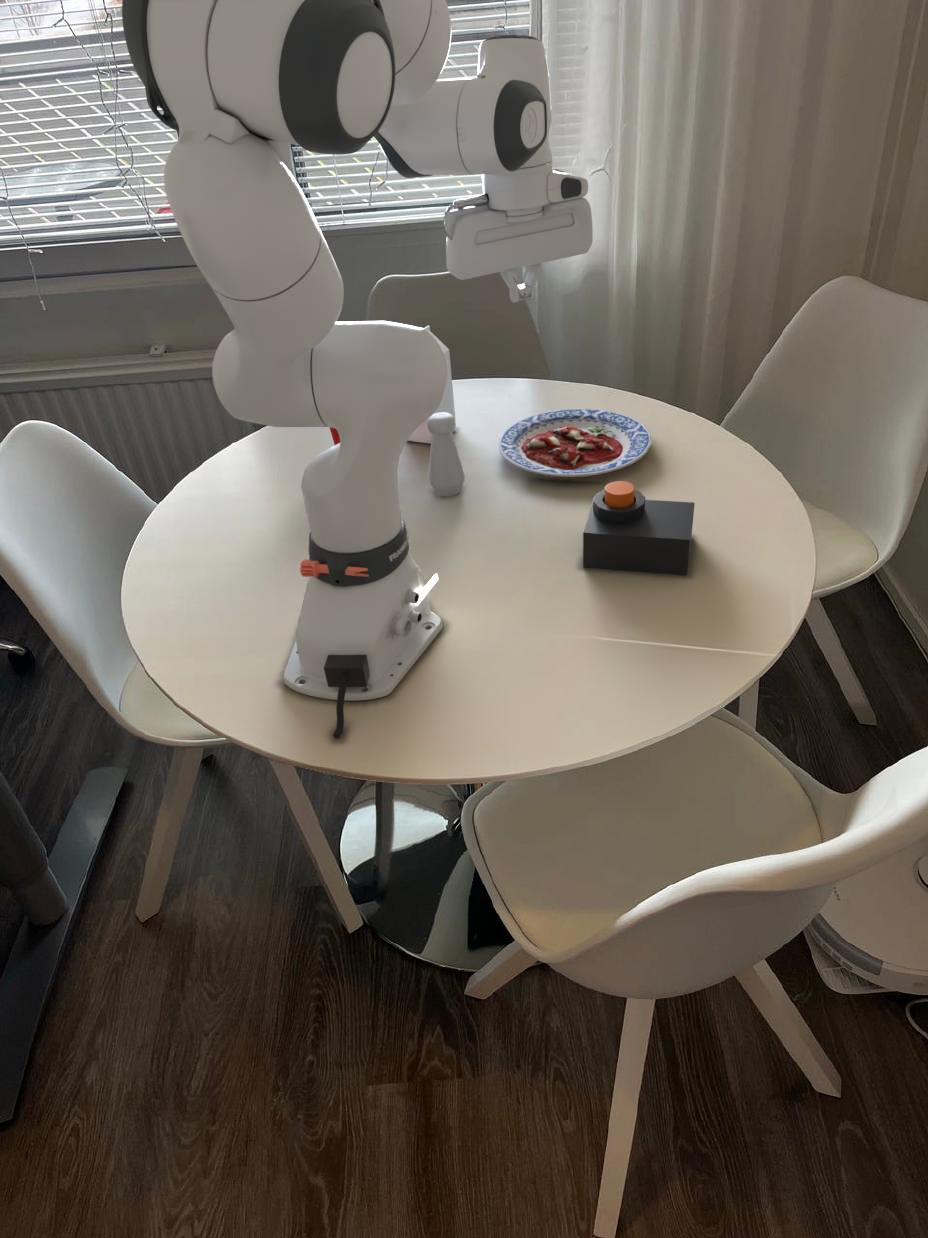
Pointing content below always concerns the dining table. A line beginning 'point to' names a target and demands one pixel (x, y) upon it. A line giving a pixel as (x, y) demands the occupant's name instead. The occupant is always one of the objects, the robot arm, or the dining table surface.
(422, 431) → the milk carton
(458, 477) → the salt shaker
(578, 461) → the ceramic plate
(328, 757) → the dining table surface
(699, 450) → the dining table surface
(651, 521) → the button base
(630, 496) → the orange push button
